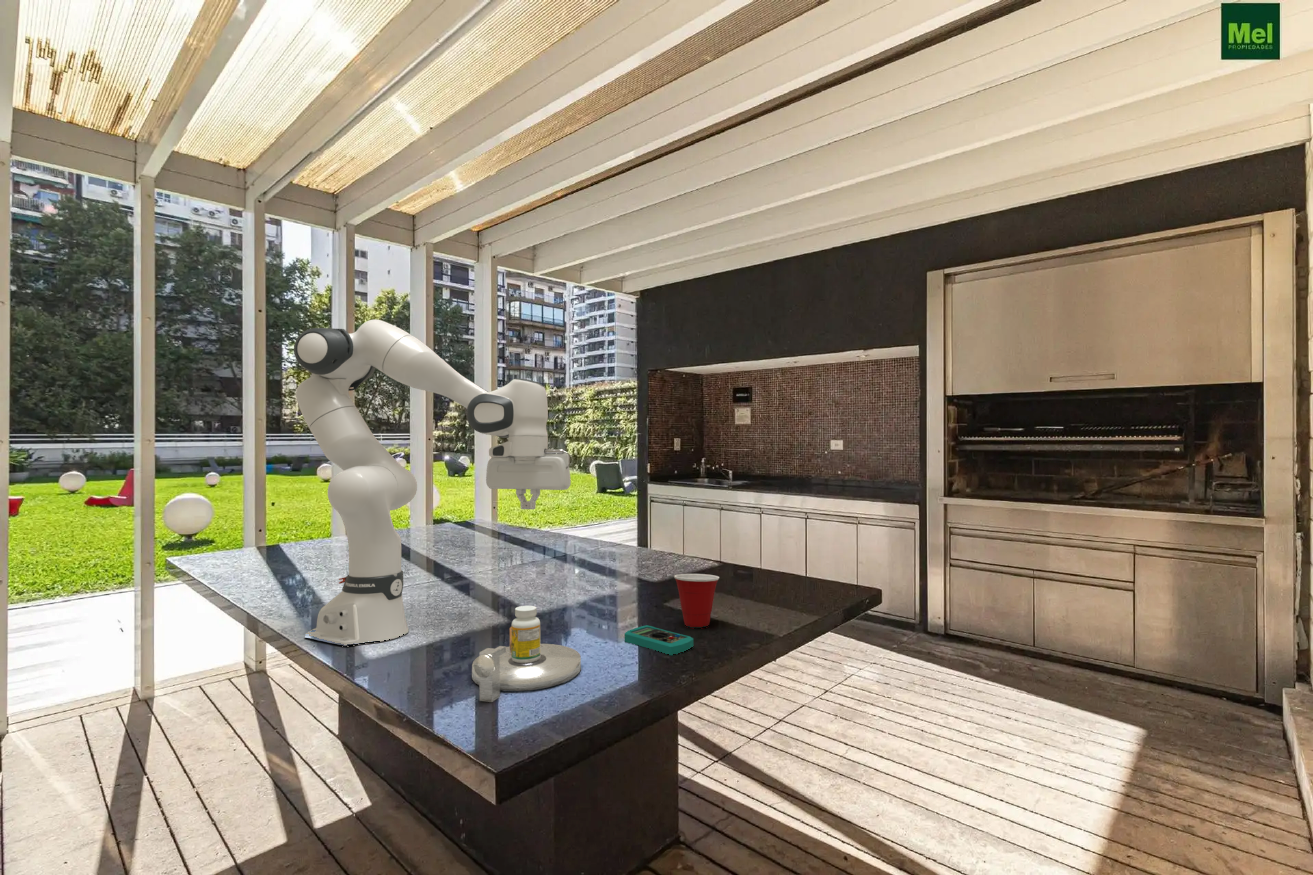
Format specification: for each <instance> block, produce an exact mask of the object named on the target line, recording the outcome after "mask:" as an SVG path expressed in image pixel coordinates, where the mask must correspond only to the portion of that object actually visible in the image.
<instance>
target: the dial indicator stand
mask: <svg viewBox="0 0 1313 875" xmlns="http://www.w3.org/2000/svg"><path fill="white" fill-rule="evenodd" d="M506 647H507V646H505V645H504V646H503V645H499V646H497V647H495V648H491V647H490V648H489V647H487V648H485V649H483V650H482V651H479V655H478V657H476V658H475V659H474V660H473V662H474V670H475V672H476V674H477V675H478V676H480V685H479V702H487V703H488V702H489V703H493V702H495V701H496V700H497V699H499V698H500V697H501V690H500V655H502V654H504V653H505V652H506Z"/></svg>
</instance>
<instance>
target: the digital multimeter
mask: <svg viewBox="0 0 1313 875" xmlns="http://www.w3.org/2000/svg"><path fill="white" fill-rule="evenodd" d="M624 642H625V643H628V644H630V643H632V645H634V644H635V646H638V645H639V646H638V647H642V648H645V647H646V648H645V649H648V648H649V650H651V649H653V650H652V651H655V650H656V651H655V652H658V651H659V652H658V653H661V652H662V654H664V653H665V655H667V654H669V655H668V656H674V655H673V654H676V655H678V653H680V652H683V653H685V652H684V651H686V650H688V649H690V648H691V647H693V646H695V645H694V637H691V635H685V634H682V633H681V634H680V633H677V632H673V631H670V630H666V629H662V628H658V627H655V626H652V625H647V624H646V625H643V626H638V627H636V628H635V627H633V628H631V629H629V630H626V631H625V633H624ZM693 648H694V647H693ZM690 650H691V649H690ZM688 651H689V650H688ZM686 652H687V651H686ZM680 654H681V653H680Z"/></svg>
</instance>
